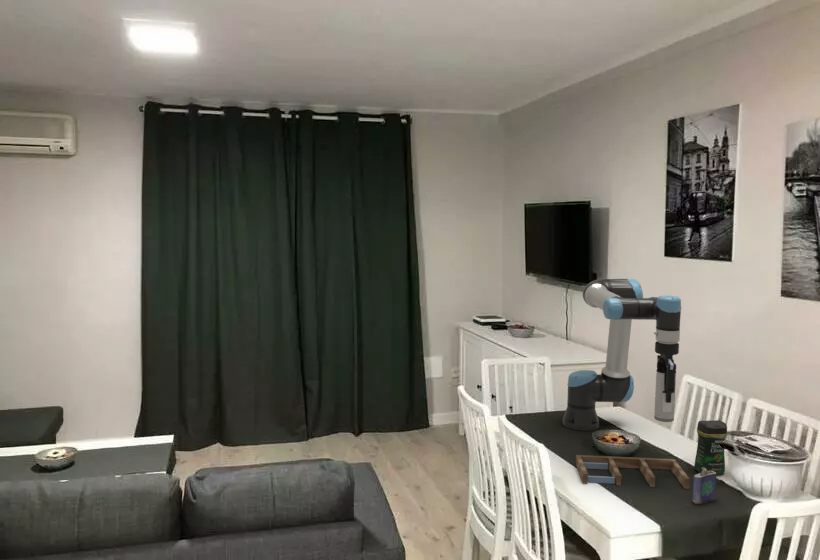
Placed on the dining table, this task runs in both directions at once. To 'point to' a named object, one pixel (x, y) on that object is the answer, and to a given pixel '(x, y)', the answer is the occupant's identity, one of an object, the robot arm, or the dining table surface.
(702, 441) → the coffee jar
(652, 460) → the divider rack
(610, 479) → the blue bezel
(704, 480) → the flask
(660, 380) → the travel mug
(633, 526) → the dining table surface
